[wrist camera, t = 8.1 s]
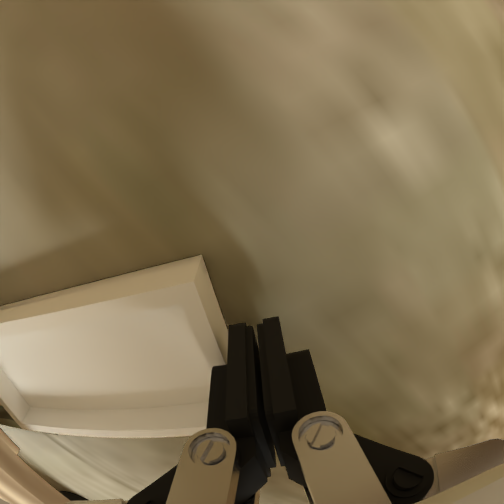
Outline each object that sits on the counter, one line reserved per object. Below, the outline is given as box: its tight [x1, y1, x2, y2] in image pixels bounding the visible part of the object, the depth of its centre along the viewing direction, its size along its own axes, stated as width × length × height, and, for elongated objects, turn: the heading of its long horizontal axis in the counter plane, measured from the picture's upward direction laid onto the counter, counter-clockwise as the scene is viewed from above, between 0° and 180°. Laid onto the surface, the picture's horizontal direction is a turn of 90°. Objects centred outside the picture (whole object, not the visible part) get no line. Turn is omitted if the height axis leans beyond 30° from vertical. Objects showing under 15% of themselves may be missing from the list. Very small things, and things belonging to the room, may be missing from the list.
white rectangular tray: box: [0, 255, 228, 438], centre depth 11 cm, size 14×7×2 cm, turn 104°
